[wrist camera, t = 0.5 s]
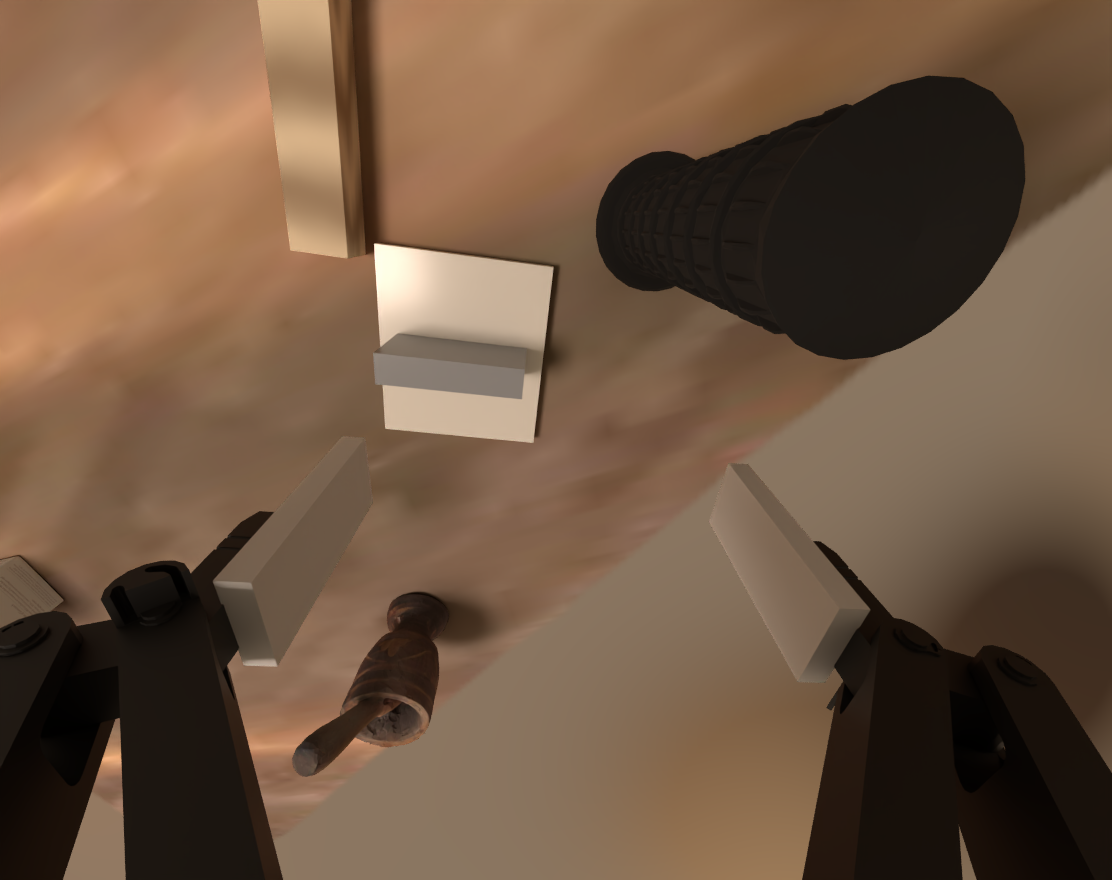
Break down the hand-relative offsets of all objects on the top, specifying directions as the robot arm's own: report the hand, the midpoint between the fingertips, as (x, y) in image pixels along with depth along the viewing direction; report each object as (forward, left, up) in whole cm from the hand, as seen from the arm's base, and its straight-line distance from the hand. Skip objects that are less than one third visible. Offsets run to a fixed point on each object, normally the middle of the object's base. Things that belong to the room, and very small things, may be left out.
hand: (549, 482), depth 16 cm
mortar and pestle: (+36, -13, -25) cm, 45 cm away
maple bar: (-14, -17, -25) cm, 33 cm away
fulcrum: (+3, -7, -25) cm, 26 cm away
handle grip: (-9, +8, -25) cm, 28 cm away
